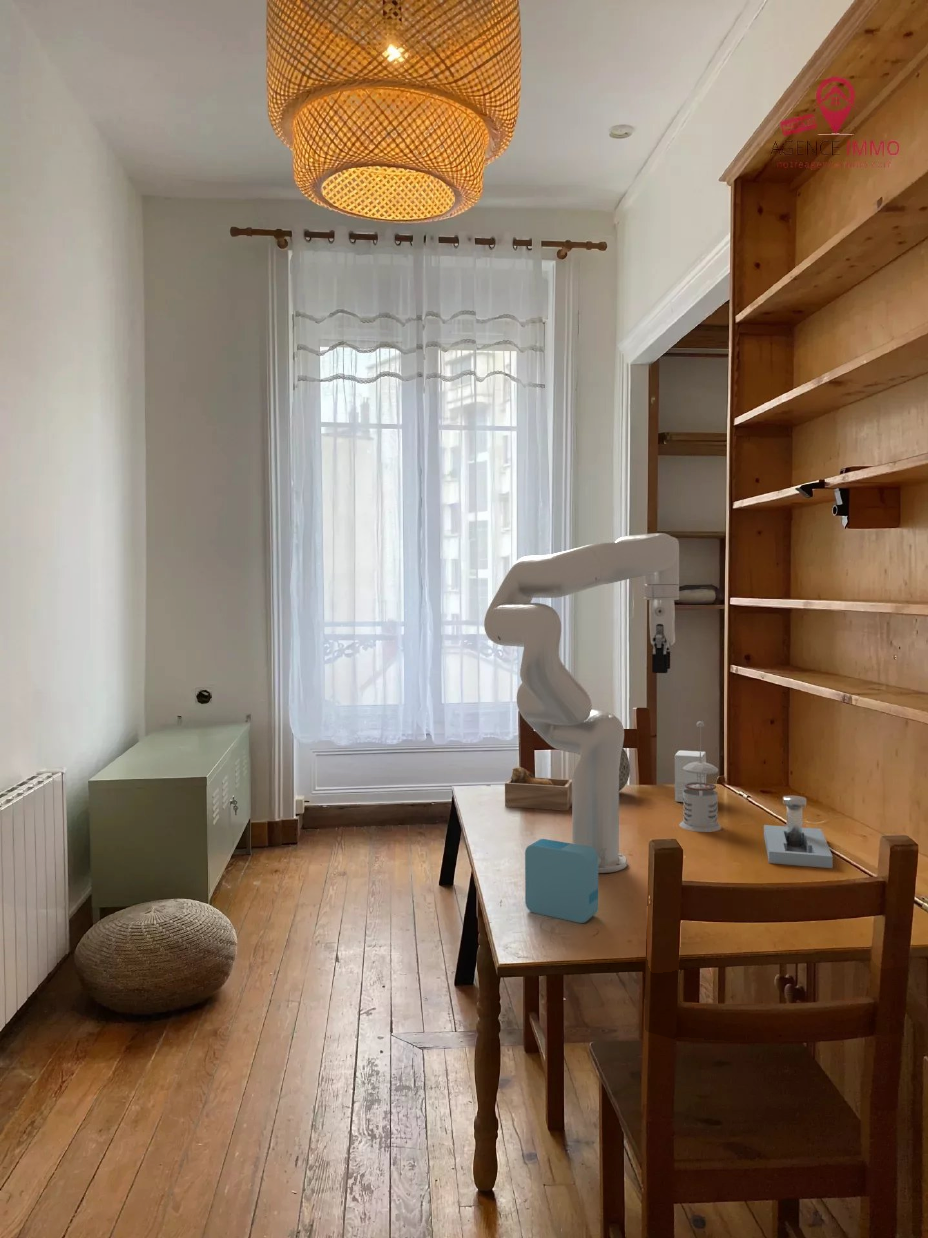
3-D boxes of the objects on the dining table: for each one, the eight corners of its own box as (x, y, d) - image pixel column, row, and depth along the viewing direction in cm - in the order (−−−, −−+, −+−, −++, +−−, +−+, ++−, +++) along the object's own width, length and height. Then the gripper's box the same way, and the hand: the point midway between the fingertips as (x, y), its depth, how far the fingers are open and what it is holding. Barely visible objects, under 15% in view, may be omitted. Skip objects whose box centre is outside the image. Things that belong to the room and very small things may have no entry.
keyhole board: (832, 868, 166) (832, 856, 166) (768, 863, 170) (769, 851, 170) (820, 839, 186) (820, 829, 186) (763, 835, 189) (763, 825, 189)
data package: (598, 916, 143) (598, 847, 143) (588, 925, 139) (588, 854, 139) (536, 903, 149) (536, 837, 149) (524, 911, 145) (524, 843, 145)
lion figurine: (507, 801, 220) (507, 768, 220) (515, 797, 225) (516, 764, 224) (559, 809, 213) (560, 774, 213) (566, 804, 218) (567, 770, 217)
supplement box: (706, 798, 224) (707, 751, 223) (702, 804, 217) (702, 756, 216) (679, 795, 227) (679, 749, 226) (674, 801, 220) (674, 754, 220)
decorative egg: (587, 788, 236) (586, 735, 235) (629, 789, 234) (629, 736, 234) (586, 798, 224) (586, 743, 224) (630, 799, 222) (630, 744, 222)
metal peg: (807, 848, 179) (807, 801, 178) (783, 846, 180) (783, 800, 180) (804, 842, 183) (805, 796, 183) (781, 840, 185) (781, 795, 184)
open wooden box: (567, 810, 212) (567, 787, 212) (504, 806, 217) (504, 783, 217) (573, 802, 221) (573, 779, 220) (513, 798, 225) (513, 776, 225)
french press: (678, 830, 194) (678, 723, 193) (680, 817, 205) (680, 716, 204) (722, 833, 191) (722, 725, 190) (721, 820, 202) (722, 717, 201)
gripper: (677, 593, 173) (677, 675, 173) (680, 592, 189) (680, 667, 190) (640, 593, 175) (640, 674, 176) (647, 593, 192) (647, 667, 192)
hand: (661, 670), depth 183 cm, fingers open, 9 cm apart
